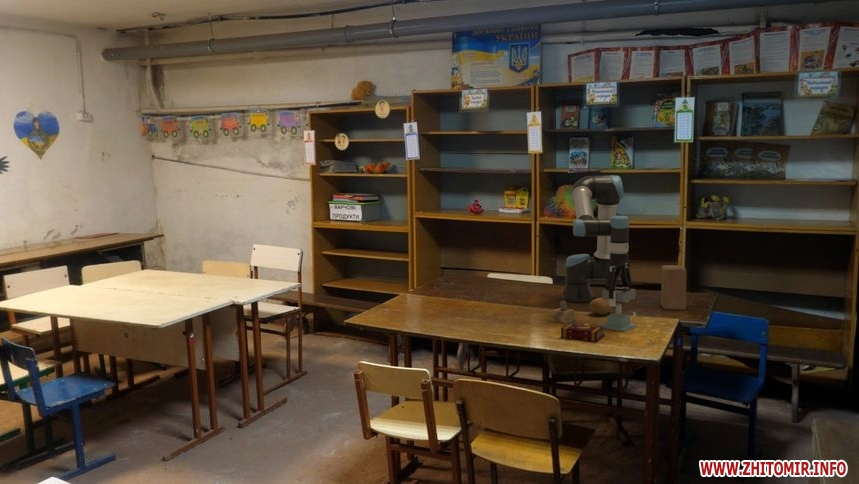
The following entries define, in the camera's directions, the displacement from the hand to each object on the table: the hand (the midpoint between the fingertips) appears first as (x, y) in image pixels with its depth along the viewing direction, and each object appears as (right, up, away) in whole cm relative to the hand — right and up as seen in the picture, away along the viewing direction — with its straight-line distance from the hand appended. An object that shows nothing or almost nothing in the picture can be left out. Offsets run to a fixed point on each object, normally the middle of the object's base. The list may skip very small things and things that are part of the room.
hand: (618, 304), depth 282 cm
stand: (-21, -9, +14) cm, 27 cm away
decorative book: (-19, -13, -12) cm, 26 cm away
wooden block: (+36, -5, +35) cm, 50 cm away
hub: (0, -10, +1) cm, 10 cm away
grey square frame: (0, +2, 0) cm, 2 cm away
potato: (-1, -7, +25) cm, 26 cm away
